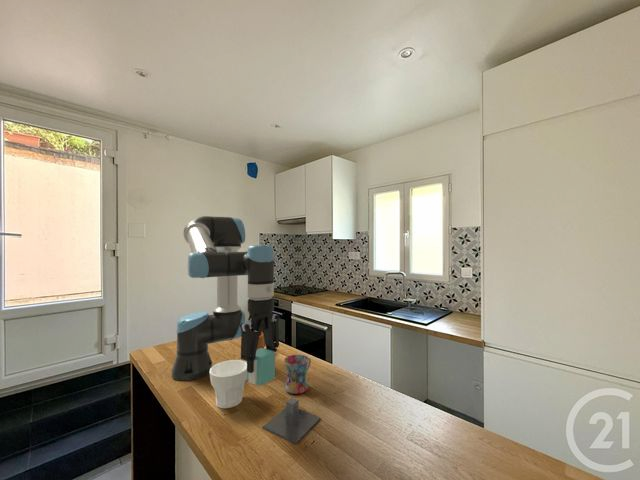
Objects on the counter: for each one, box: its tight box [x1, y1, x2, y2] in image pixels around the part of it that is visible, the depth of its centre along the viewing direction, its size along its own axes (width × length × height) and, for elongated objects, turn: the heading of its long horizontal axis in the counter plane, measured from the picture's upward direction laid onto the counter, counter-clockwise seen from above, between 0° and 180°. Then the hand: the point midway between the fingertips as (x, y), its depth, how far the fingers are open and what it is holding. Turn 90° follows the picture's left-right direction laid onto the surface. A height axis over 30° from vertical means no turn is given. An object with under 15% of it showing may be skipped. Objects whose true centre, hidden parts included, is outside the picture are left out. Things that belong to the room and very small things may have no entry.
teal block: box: [246, 347, 276, 387], centre depth 77 cm, size 6×6×8 cm
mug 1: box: [257, 331, 266, 349], centre depth 130 cm, size 9×12×9 cm
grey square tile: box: [262, 397, 321, 446], centre depth 78 cm, size 12×12×6 cm
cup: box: [208, 359, 247, 409], centre depth 89 cm, size 12×12×11 cm
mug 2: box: [283, 354, 312, 395], centre depth 97 cm, size 12×9×11 cm
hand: (261, 378), depth 77 cm, fingers closed on teal block, 6 cm apart
